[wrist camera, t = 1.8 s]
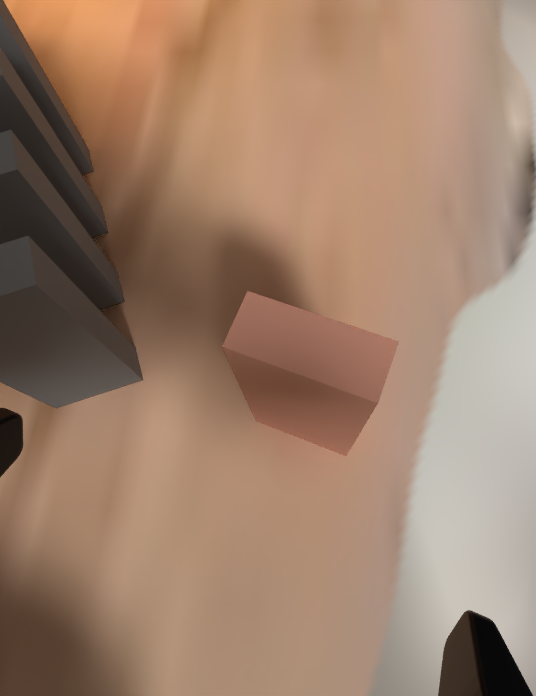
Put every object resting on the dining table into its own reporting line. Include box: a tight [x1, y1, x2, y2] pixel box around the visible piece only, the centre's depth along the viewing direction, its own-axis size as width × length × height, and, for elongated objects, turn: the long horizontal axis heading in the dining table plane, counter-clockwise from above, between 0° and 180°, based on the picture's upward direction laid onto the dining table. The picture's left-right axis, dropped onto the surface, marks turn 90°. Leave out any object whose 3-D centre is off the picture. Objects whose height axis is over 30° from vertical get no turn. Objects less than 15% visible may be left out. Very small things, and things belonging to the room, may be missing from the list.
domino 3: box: [0, 130, 124, 310], centre depth 21 cm, size 2×4×10 cm, turn 108°
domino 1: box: [0, 0, 93, 175], centre depth 24 cm, size 2×4×10 cm, turn 108°
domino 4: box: [0, 236, 143, 408], centre depth 19 cm, size 2×4×10 cm, turn 108°
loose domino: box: [222, 291, 398, 456], centre depth 18 cm, size 2×4×10 cm, turn 68°
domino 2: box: [0, 48, 108, 238], centre depth 22 cm, size 2×4×10 cm, turn 108°
